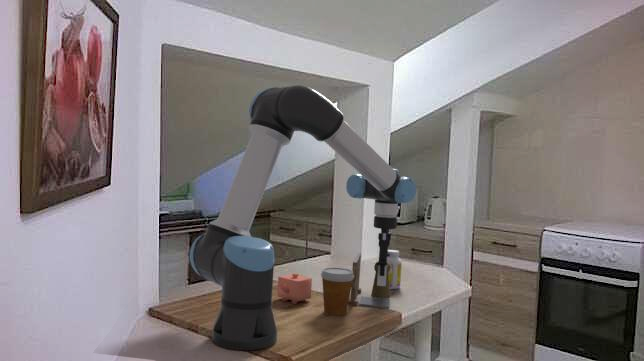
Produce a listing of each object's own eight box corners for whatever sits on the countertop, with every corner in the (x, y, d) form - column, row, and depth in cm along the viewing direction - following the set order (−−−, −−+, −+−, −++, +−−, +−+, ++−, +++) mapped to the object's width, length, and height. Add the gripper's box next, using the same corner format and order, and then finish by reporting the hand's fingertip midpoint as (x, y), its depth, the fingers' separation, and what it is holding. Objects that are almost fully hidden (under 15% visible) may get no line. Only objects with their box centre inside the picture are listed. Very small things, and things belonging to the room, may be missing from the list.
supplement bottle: (396, 285, 188) (398, 249, 187) (402, 289, 181) (405, 252, 181) (378, 284, 186) (380, 248, 186) (384, 289, 180) (386, 252, 179)
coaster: (358, 305, 158) (359, 303, 158) (360, 298, 167) (361, 296, 167) (388, 308, 157) (389, 306, 157) (389, 300, 166) (389, 298, 166)
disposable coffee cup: (312, 309, 150) (314, 268, 150) (338, 306, 156) (341, 266, 156) (331, 319, 143) (334, 275, 142) (358, 315, 148) (361, 273, 148)
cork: (377, 292, 176) (379, 259, 175) (393, 296, 172) (395, 262, 171) (367, 295, 171) (369, 261, 171) (383, 299, 167) (385, 264, 167)
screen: (347, 304, 158) (349, 262, 157) (352, 290, 176) (354, 252, 175) (357, 305, 157) (359, 262, 157) (361, 291, 175) (363, 252, 175)
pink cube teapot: (269, 301, 157) (271, 274, 157) (295, 294, 166) (297, 269, 166) (289, 307, 152) (291, 279, 152) (314, 299, 162) (316, 273, 161)
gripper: (397, 221, 157) (393, 291, 159) (397, 212, 182) (394, 273, 183) (372, 219, 159) (368, 288, 160) (375, 211, 183) (372, 271, 184)
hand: (382, 280), depth 171 cm, fingers open, 13 cm apart
